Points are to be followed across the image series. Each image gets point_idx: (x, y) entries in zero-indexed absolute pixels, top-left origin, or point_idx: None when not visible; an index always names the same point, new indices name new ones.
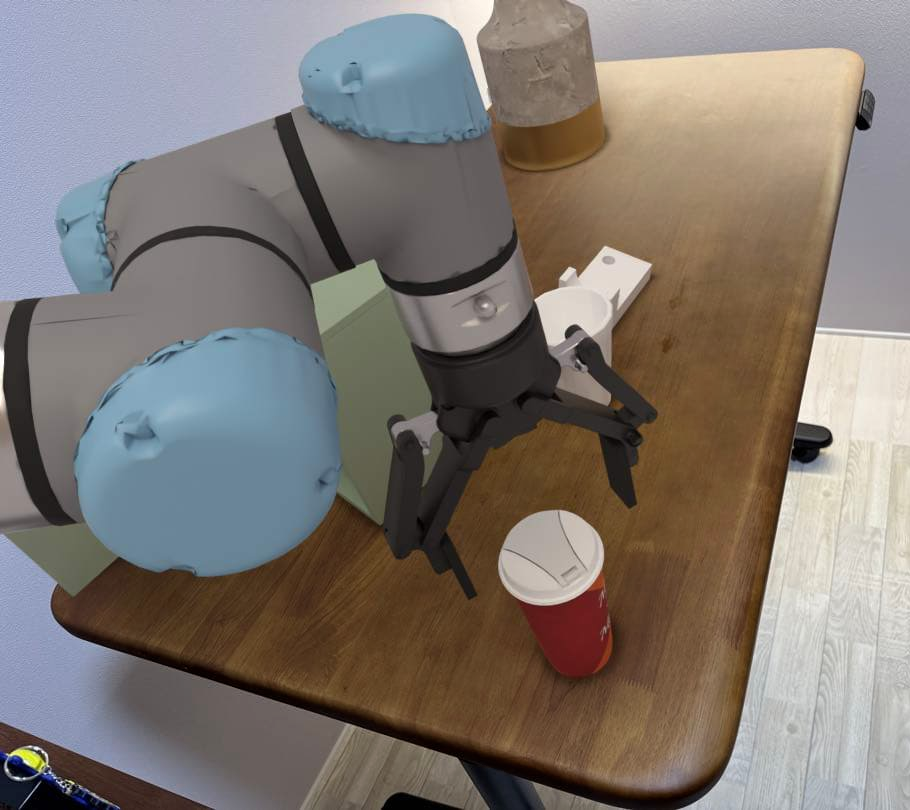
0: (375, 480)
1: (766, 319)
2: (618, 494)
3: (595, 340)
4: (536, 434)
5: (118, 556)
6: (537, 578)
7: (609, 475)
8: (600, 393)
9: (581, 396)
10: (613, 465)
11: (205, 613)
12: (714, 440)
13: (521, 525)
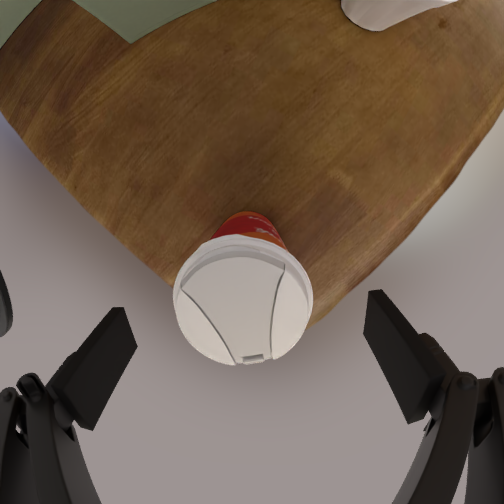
0: (124, 15)
1: (498, 69)
2: (368, 315)
3: (433, 2)
4: (308, 11)
5: (1, 46)
6: (212, 348)
7: (380, 314)
8: (388, 23)
9: (458, 481)
10: (394, 366)
11: (19, 95)
12: (439, 124)
13: (220, 267)
